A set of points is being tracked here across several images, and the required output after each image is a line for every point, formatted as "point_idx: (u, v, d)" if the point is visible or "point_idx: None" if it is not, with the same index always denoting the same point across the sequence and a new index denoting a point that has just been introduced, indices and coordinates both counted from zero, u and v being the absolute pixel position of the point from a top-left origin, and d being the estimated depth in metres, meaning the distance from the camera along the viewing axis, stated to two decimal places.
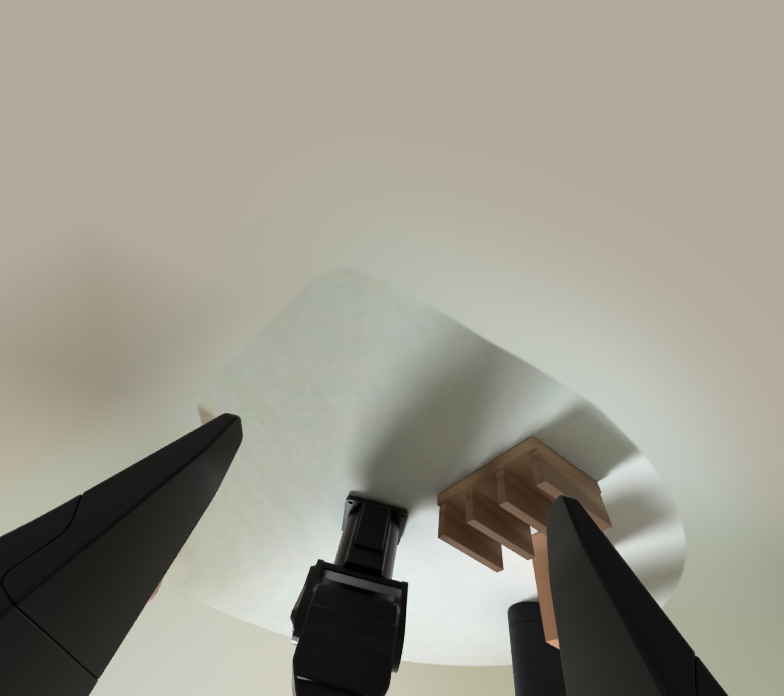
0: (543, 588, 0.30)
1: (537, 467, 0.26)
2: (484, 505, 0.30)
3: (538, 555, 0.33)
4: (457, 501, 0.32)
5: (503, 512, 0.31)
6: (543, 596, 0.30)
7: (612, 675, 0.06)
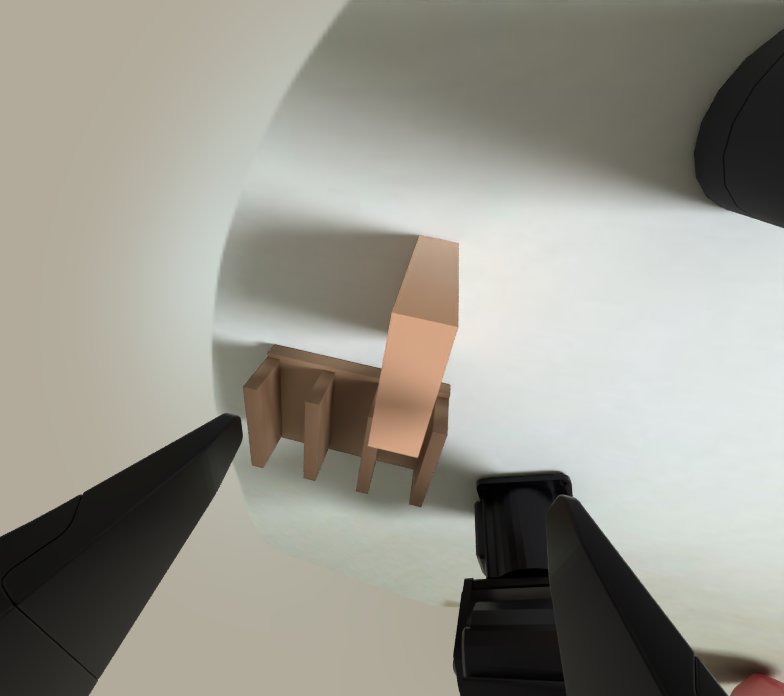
0: None
1: None
2: None
3: None
4: (401, 458, 0.25)
5: None
6: None
7: (612, 675, 0.06)
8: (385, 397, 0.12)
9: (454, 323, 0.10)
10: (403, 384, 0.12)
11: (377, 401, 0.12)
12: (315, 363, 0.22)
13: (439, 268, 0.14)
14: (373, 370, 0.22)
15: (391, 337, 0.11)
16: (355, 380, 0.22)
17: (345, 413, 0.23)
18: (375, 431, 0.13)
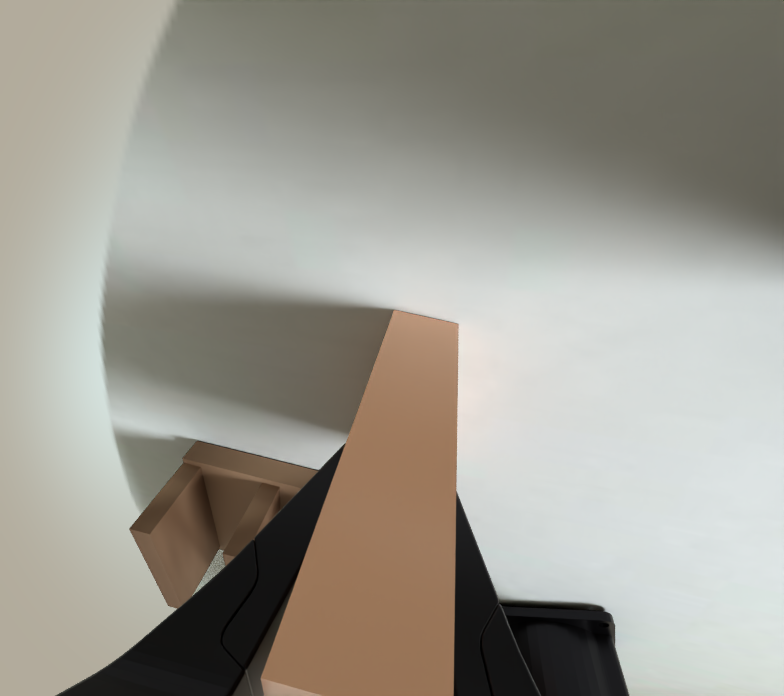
0: None
1: None
2: None
3: None
4: None
5: None
6: None
7: None
8: None
9: None
10: None
11: None
12: (250, 475, 0.15)
13: (418, 407, 0.07)
14: None
15: None
16: None
17: None
18: None
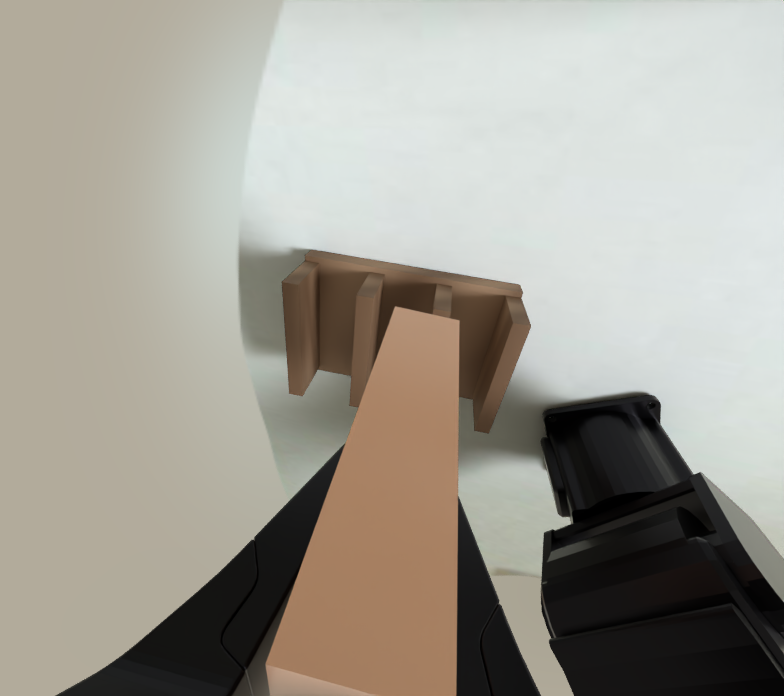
0: None
1: None
2: None
3: None
4: None
5: None
6: None
7: None
8: None
9: (445, 693, 0.04)
10: None
11: None
12: (361, 264, 0.18)
13: (420, 401, 0.07)
14: (429, 271, 0.19)
15: (279, 688, 0.04)
16: (409, 283, 0.18)
17: None
18: None
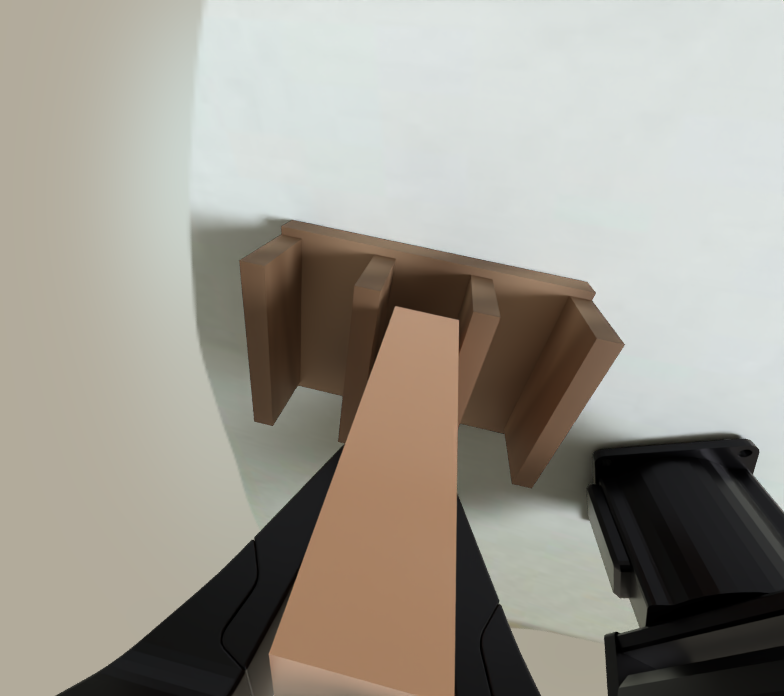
0: None
1: None
2: None
3: None
4: (486, 415, 0.16)
5: None
6: None
7: None
8: None
9: (443, 682, 0.04)
10: None
11: None
12: (363, 243, 0.13)
13: (420, 399, 0.07)
14: (459, 257, 0.13)
15: (281, 678, 0.04)
16: (430, 272, 0.13)
17: None
18: None
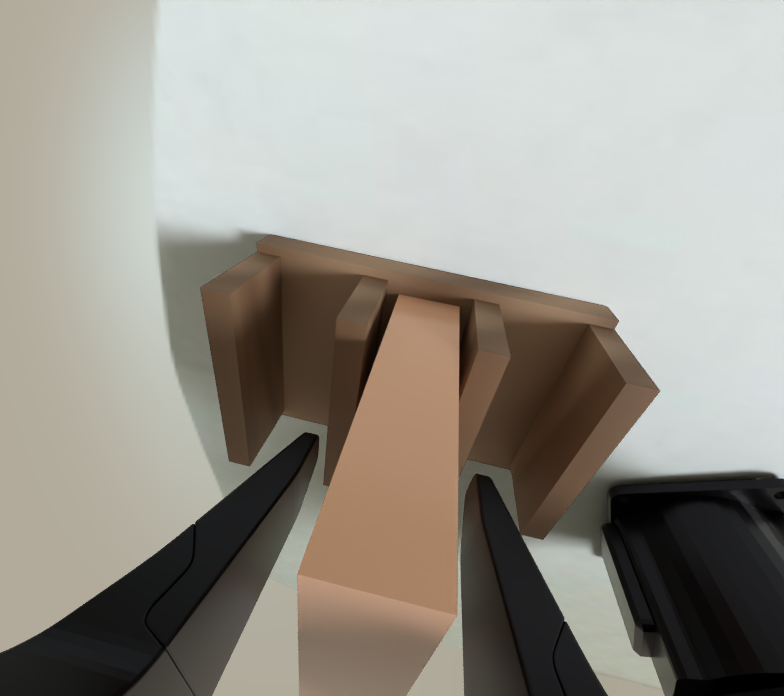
0: None
1: None
2: None
3: None
4: (490, 450, 0.14)
5: None
6: None
7: (490, 642, 0.06)
8: (314, 664, 0.06)
9: (448, 598, 0.04)
10: (347, 659, 0.06)
11: (301, 665, 0.06)
12: (350, 262, 0.11)
13: (424, 375, 0.08)
14: (460, 278, 0.11)
15: (306, 604, 0.05)
16: (427, 296, 0.11)
17: None
18: (307, 690, 0.07)
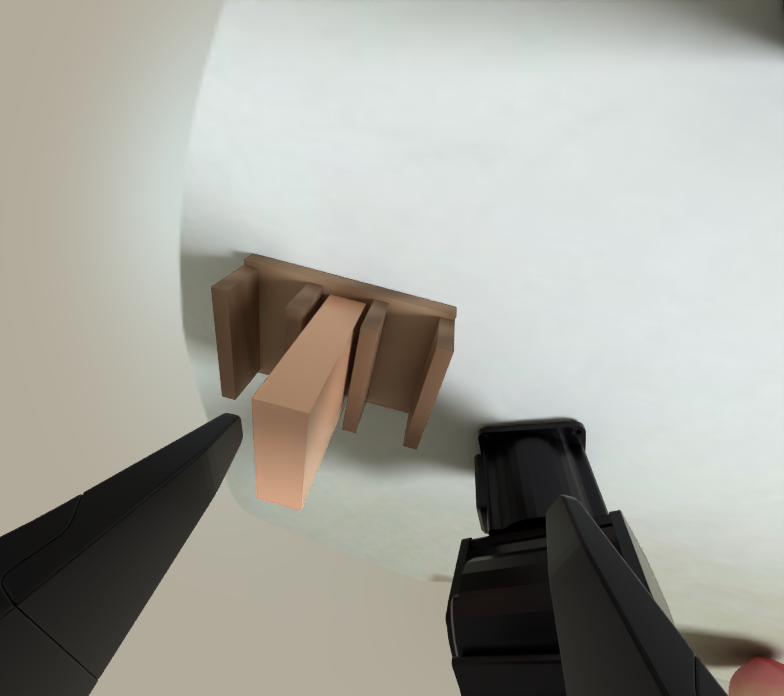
0: None
1: None
2: None
3: None
4: (395, 399, 0.22)
5: None
6: None
7: (612, 675, 0.06)
8: (262, 462, 0.13)
9: (307, 409, 0.12)
10: (275, 453, 0.13)
11: (256, 464, 0.14)
12: (300, 274, 0.18)
13: (328, 338, 0.15)
14: (368, 286, 0.19)
15: (256, 416, 0.12)
16: (347, 296, 0.19)
17: None
18: (260, 487, 0.14)
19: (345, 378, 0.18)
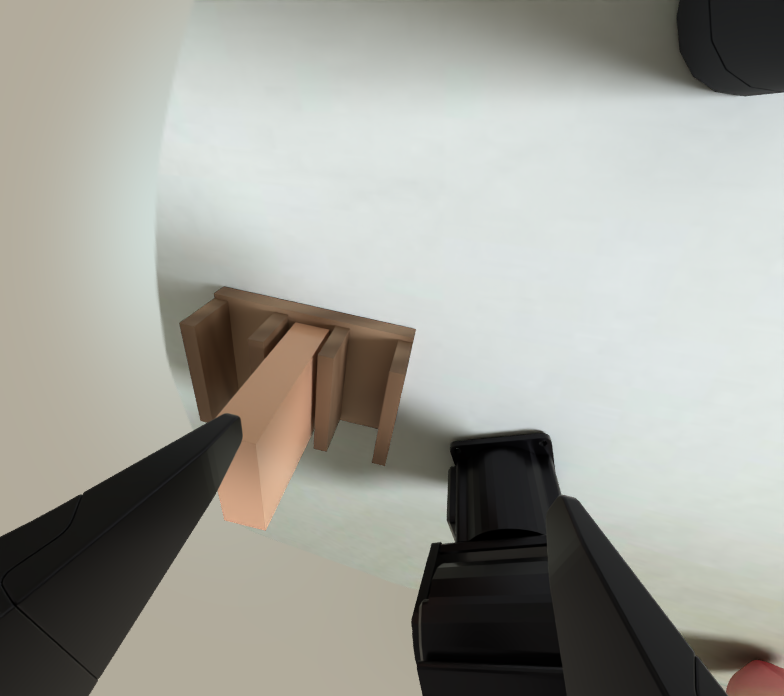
0: None
1: None
2: None
3: None
4: (367, 416, 0.23)
5: None
6: None
7: (612, 675, 0.06)
8: (223, 487, 0.15)
9: (254, 440, 0.13)
10: (233, 479, 0.14)
11: (218, 489, 0.15)
12: (266, 305, 0.20)
13: (286, 367, 0.16)
14: (331, 313, 0.20)
15: None
16: (311, 323, 0.20)
17: None
18: (225, 510, 0.16)
19: (311, 401, 0.19)
